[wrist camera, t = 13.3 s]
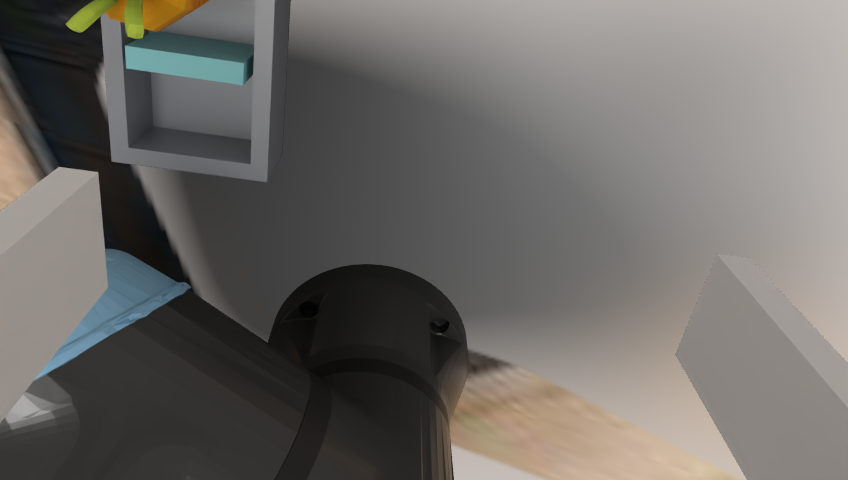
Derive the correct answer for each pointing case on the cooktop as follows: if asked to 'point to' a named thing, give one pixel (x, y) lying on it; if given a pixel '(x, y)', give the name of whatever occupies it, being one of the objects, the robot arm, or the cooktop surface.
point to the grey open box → (203, 97)
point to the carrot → (135, 14)
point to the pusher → (191, 57)
